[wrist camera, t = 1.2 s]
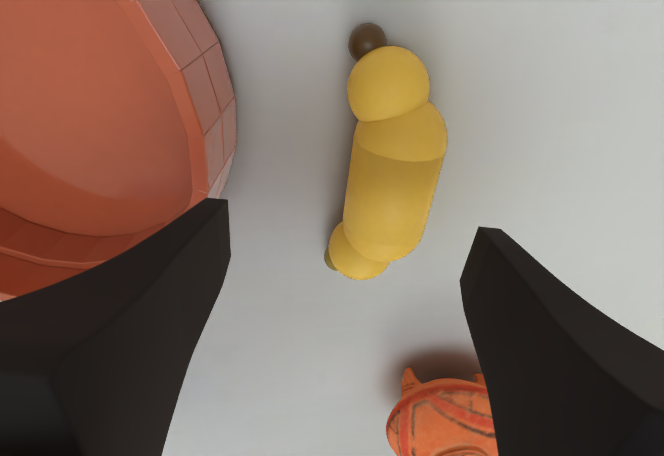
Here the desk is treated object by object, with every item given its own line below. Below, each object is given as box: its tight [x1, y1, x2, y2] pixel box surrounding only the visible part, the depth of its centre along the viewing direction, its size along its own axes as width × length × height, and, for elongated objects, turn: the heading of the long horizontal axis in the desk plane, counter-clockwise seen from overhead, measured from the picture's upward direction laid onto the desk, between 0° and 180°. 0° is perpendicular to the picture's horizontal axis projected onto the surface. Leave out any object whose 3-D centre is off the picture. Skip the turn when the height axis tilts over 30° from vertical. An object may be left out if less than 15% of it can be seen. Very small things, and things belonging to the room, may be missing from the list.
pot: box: [386, 367, 498, 456], centre depth 27 cm, size 8×8×7 cm
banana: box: [324, 23, 447, 280], centre depth 19 cm, size 12×4×4 cm, turn 174°
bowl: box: [0, 0, 237, 301], centre depth 17 cm, size 17×17×5 cm
